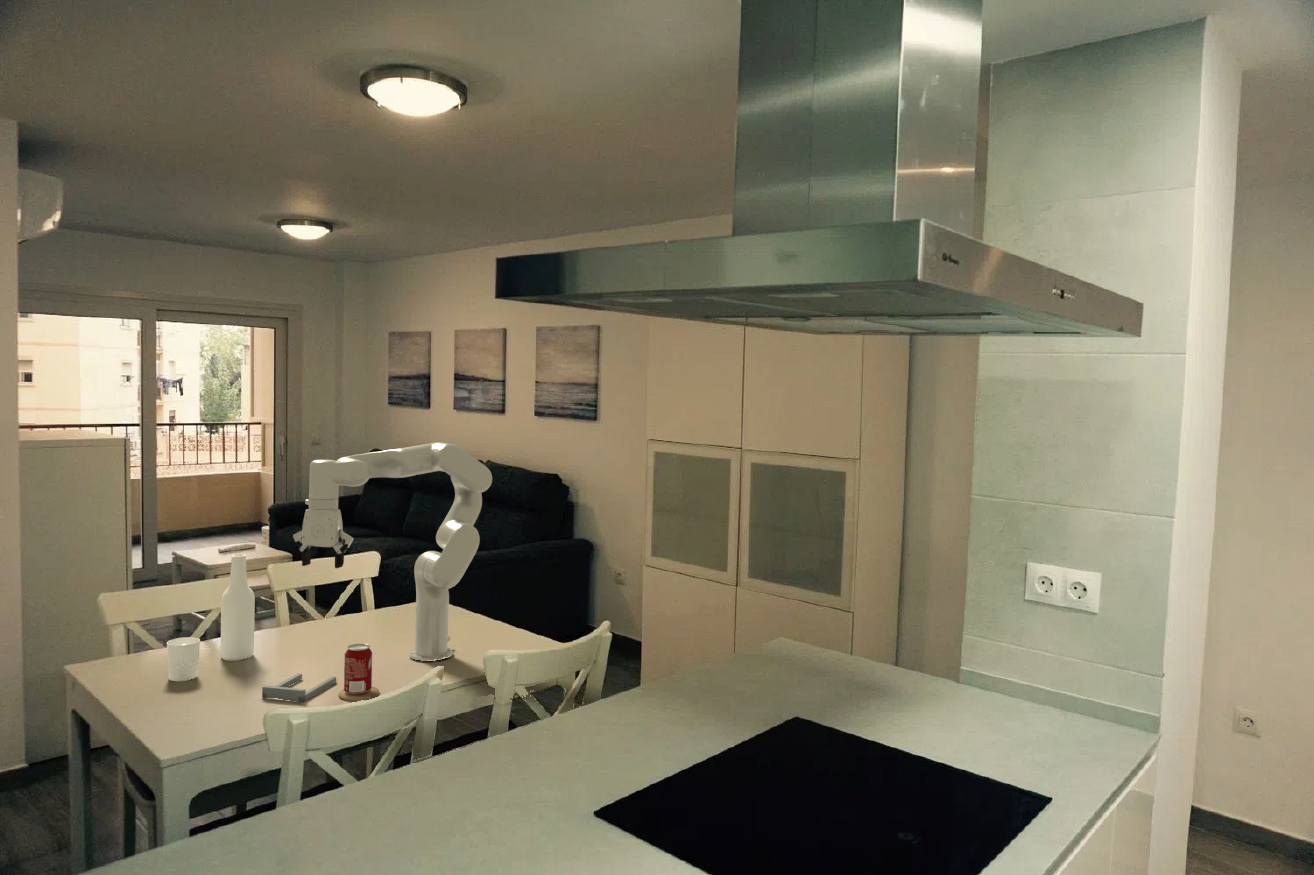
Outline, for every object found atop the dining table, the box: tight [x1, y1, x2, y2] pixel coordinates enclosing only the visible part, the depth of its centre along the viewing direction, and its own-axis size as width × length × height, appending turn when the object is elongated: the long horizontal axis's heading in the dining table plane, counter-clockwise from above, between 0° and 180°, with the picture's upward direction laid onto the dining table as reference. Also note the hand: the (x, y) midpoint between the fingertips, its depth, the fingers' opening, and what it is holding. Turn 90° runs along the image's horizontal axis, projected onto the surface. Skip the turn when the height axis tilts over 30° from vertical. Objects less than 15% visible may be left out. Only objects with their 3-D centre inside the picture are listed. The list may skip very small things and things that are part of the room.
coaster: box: [337, 686, 380, 702], centre depth 224 cm, size 10×10×1 cm
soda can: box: [343, 643, 373, 695], centre depth 224 cm, size 7×7×12 cm
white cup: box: [166, 636, 201, 682], centre depth 232 cm, size 8×8×10 cm
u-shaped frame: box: [261, 673, 337, 703], centre depth 226 cm, size 16×11×3 cm
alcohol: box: [220, 553, 256, 662], centre depth 251 cm, size 9×9×30 cm
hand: (322, 566), depth 237 cm, fingers open, 9 cm apart
